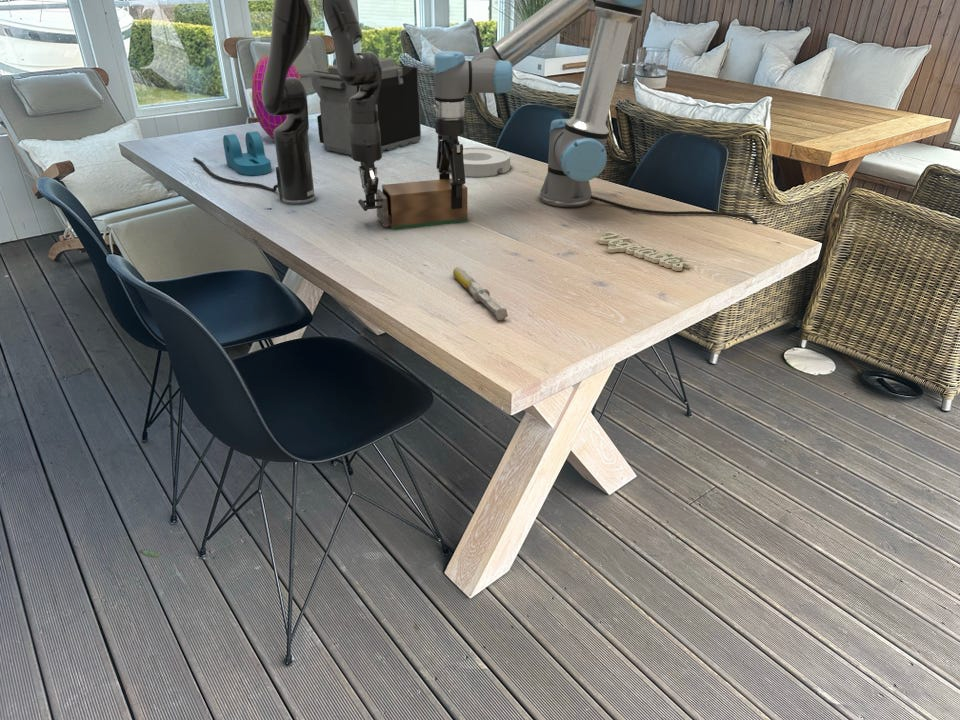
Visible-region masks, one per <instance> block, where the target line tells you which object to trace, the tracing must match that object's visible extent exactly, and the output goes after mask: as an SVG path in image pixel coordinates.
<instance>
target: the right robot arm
mask: <svg viewBox="0 0 960 720" xmlns="http://www.w3.org/2000/svg"><path fill="white" fill-rule="evenodd" d="M646 1H647V0H551V1H549V2H548V3H547V4H545V5H544V6H542V7H541V8H539V10H537V11H535V13H533V14H532V15H530V16H529V17H528V18H527V19H525V20H524V21H522V23H520V24H518V25H517V26H516V27H514V28H513V29H512V30H511V31H509V32H507V34H505V35H504V36H503V37H501V38H500V39H499V40H497V41H495V43H493V44H491V46H489V47H487V49H485V50H483V51H480V52H478V53H476V54H475V55H474V56H473V57H472V58H471V60H466V58H465V54H464V52H462V51H458V50H457V51H456V50H443V51H438V52H437V53H436V54H435V55H434V59H433V62H434V64H433V81H434V82H433V83H434V85H433V87H434V104H433V105H432V107H433V109H435V110H434V114H435V117H436V118H435V119H434V122H435V123H434V124H435V125H434V126H435V127H434V128H435V134H437V153H436V169H437V170H438V174H439V175H438V176H439V179H450V178H452V181H453V183H451V184H450V185H451V189H452V209H460V208H462V185H463V184H464V185H465V184H466V176H465V172H464V160H463V148H464V145H463V143H460V141H459V136H461V135H463V134H465V118H464V117H465V115H466V111H465V110H466V105H465V102H466V100H465V94H477V93H478V94H497V95H499V94H506V93H507V94H508V93H510V91H512V89H513V78H514V75H513V73H514V72H513V67H515V66H516V65H517V64H519V63H521V62H522V61H523V60H524V59H526V58H527V57H529V56H530V55H532V54H533V53H535V51H537V50H538V49H539V48H541V47H542V46H544V45H546V44H547V43H548V42H549V41H551V40H552V39H553V38H555V37H556V36H558V35H559V34H560V33H561V32H563V31H565V30H566V29H567V28H569V27H570V26H572V25H573V24H574V23H575V22H577V21H578V20H580V19H581V18H582V17H584V16H585V15H587V14H588V13H593V14H594V13H596V15H597V19H596V23H595V27H594V32H593V35H592V39H591V43H590V47H589V51H588V55H587V60H586V64H585V68H584V71H583V75H582V79H581V84H580V87H579V93H578V97H577V100H576V105H575V110H574V112H573V116H572V117H571V118H558V119H553V120H552V121H551V123H550V127H549V128H550V129H549V131H548V132H549V144H548V159H547V173H546V176H545V178H544V181H543V184H542V187H541V189H540V192H539V200H540V202H542V203H543V204H546V205H549V206H553V207H558V208H559V207H560V208H580V207H584V206H588V205H589V204H591V203H592V200H593V201H598V202H601V203H604V204H608V205H610V206H615V207H619V208H621V209H625V210H630V211H633V212H641V213H646V214H654V215H671V216H672V215H674V216H675V215H677V216H678V215H708V216H709V215H713V216H723V217H732V218H745V219H748V220H749V221H751V222H752V224H754V225H756V226H757V225H758V226H759V223H758V221H757V220H756V219H755V218H754V217H753V216H751V215H749V214H745V213H731V212H723V211H703V210H702V211H701V210H694V211H693V210H687V211H686V210H685V211H683V210H682V211H670V210H669V211H667V210H654V209H645V208H640V207H639V208H638V207H634V206H629V205H625V204H621V203H618V202H614V201H611V200H607V199H605V198H601V197H597V196H593V193H592V188H591V184H590V181H591V180H593V179H596V178H597V177H598V176H599V175H600V174H601V173H602V172H603V170H604V169H605V167H606V164H607V161H608V160H607V159H608V155H607V150H606V146H607V141H608V138H609V134H610V130H609V128H608V126H607V119H608V116H609V112H610V109H611V105H612V101H613V97H614V94H615V89H616V87H617V82H618V79H619V75H620V72H621V67H622V63H623V60H624V57H625V52H626V49H627V45H628V41H629V37H630V34H631V30H632V27H633V24H634V23H635V22H637V21H638V20H640V19H641V17H642V14H643V11H644V6H645V2H646ZM449 165H450V168H449ZM450 169H451V171H450ZM450 176H451V177H450Z"/></svg>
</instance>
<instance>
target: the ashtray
mask: <svg viewBox="0 0 960 720" xmlns="http://www.w3.org/2000/svg"><path fill="white" fill-rule="evenodd" d="M463 160H464V172H465V177H472V178H473V177H474V178H478V177H479V178H481V177H483V178H485V177H494V176H497V175H498V174H505V173H507V172H509V171H510V169H511V154H510V153H509V152H507V151H505V150H503V149H502V150H501V149H499V148H498V149H497V148H492V147H482V146H481V147H480V146H467V147H463ZM449 168H450V165H449ZM450 171H451V169H450Z"/></svg>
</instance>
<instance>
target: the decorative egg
mask: <svg viewBox="0 0 960 720" xmlns="http://www.w3.org/2000/svg"><path fill="white" fill-rule="evenodd" d="M268 56H269V54H268V55H265V56H262V57H261V58H260V59H259V60H258V61H257V62H256V65H255V68H254V69H253V70H254V71H253V73H252V77H251V101H252V107H253V110H254V114H255V116H256V118H257V121H258V123H259V125H260V127H261V128H262V130H263V131H264V133H266V135H267V136H268V137H270V138H271V139H273V140H274V130H275V129H276V128H277V127H278V126H280V125H281V124H282V123H283V122H284V121H285V120H286V118H287V115H282V116H272V115H270V114H268V113H267V112H266V110H265V108H264V106H263V102H262V85H263V80H264V75H265V71H266V66H267V61H268ZM289 77H295V78H298V79H299V80H300V81H301V82H302V83H303V81H302V77H301V75H300V73H299V71H298V69H297V67H296V66H295V65H294V63H293V64H292V65H291V67H290V69H289V71H288V74H287V77H286V78H289Z"/></svg>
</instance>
